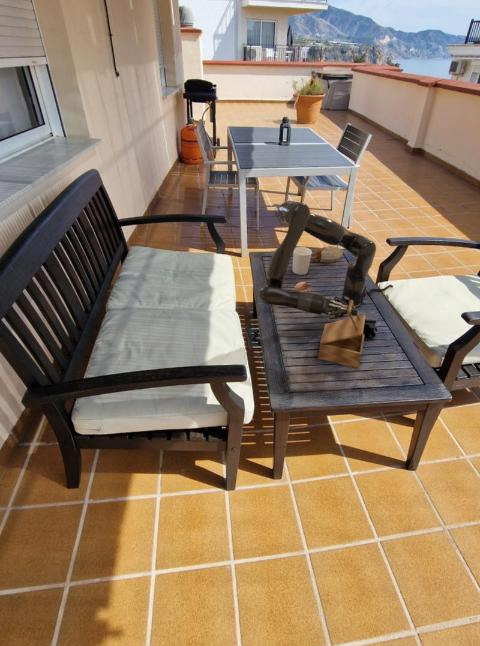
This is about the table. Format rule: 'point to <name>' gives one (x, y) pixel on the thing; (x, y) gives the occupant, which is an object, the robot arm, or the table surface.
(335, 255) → the nautilus
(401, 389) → the table surface
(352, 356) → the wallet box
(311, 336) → the table surface
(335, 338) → the box lid
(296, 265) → the candle holder
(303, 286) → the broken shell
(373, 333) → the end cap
